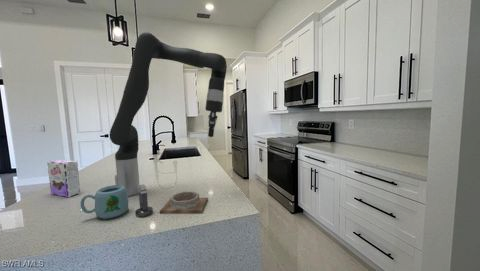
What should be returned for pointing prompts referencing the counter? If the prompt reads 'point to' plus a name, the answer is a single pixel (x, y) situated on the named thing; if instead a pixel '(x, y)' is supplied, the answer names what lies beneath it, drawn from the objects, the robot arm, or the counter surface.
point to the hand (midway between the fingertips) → (210, 136)
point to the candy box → (64, 178)
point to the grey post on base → (143, 203)
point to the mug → (108, 202)
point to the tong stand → (184, 203)
